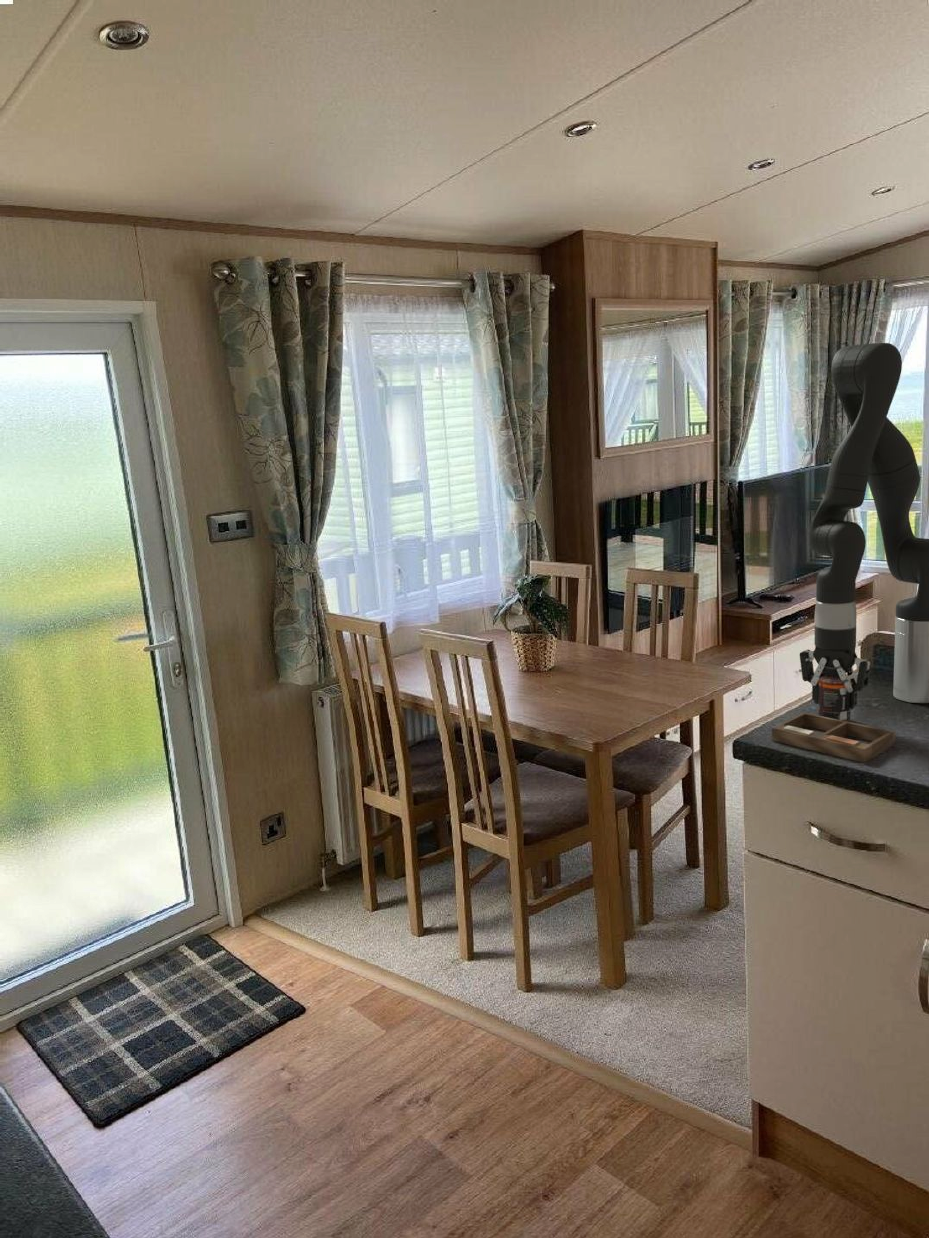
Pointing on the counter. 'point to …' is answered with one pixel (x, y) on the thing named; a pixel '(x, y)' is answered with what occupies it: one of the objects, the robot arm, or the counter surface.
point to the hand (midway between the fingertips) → (834, 705)
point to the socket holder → (833, 736)
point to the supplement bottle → (832, 696)
